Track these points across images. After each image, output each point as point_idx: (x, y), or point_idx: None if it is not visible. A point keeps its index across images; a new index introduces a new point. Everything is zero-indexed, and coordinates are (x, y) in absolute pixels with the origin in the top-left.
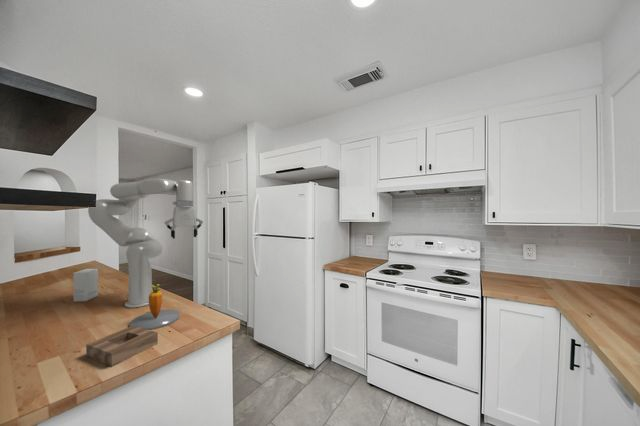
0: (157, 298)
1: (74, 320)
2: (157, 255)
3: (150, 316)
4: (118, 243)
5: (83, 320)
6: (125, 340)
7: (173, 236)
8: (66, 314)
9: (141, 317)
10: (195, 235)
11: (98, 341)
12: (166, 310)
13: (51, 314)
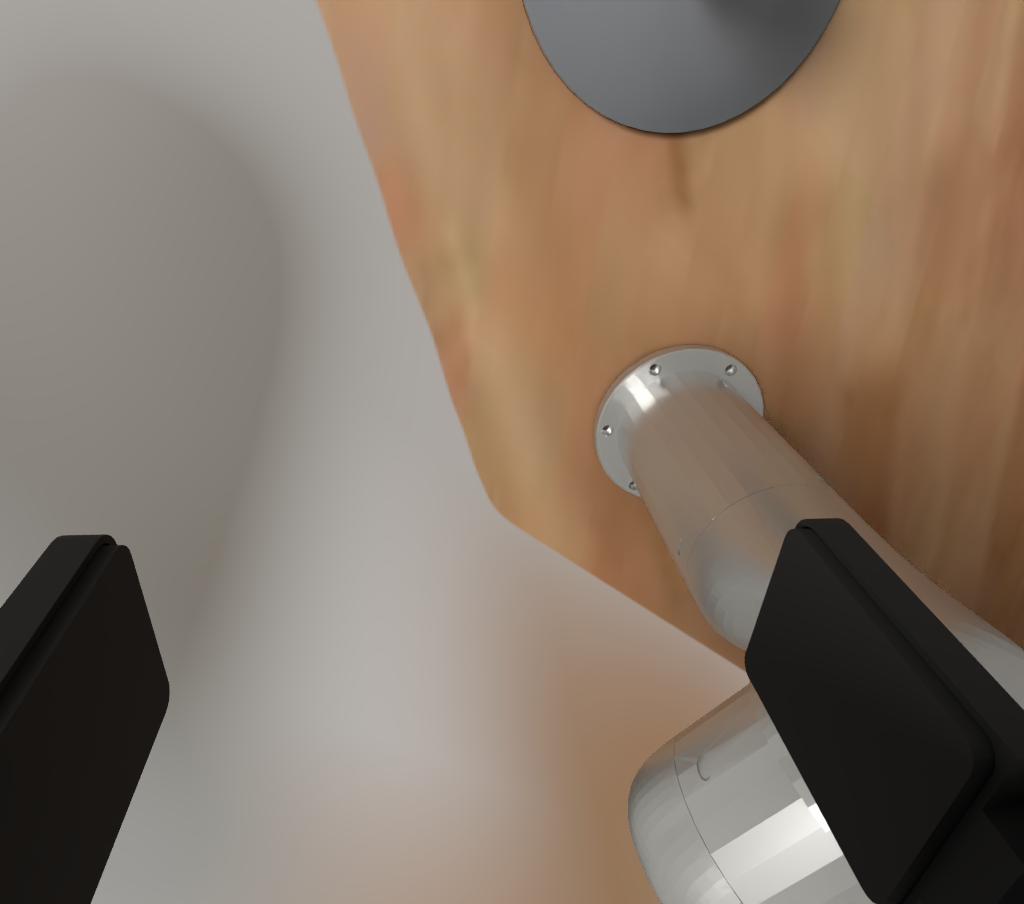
0: None
1: (990, 341)
2: (669, 741)
3: (711, 19)
4: None
5: (965, 309)
6: None
7: (871, 553)
8: (978, 465)
9: (762, 48)
10: (59, 575)
11: None
12: (590, 79)
13: (1014, 505)
